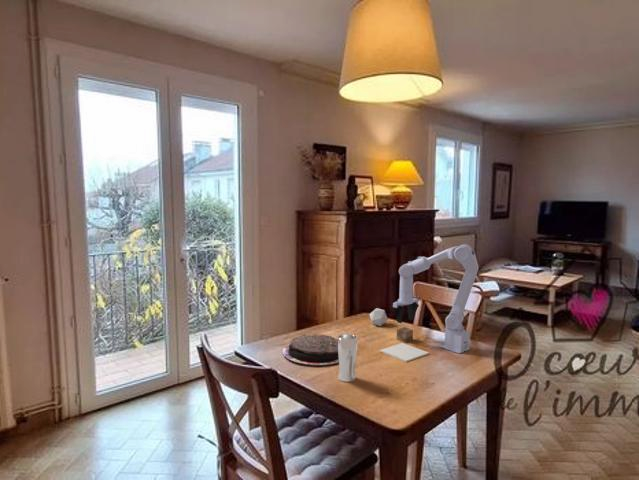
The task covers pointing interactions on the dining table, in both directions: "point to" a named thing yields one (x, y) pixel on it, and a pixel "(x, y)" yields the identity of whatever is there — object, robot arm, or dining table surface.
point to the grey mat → (404, 352)
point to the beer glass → (347, 356)
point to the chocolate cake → (312, 350)
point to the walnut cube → (405, 334)
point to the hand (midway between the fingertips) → (405, 321)
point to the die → (378, 317)
